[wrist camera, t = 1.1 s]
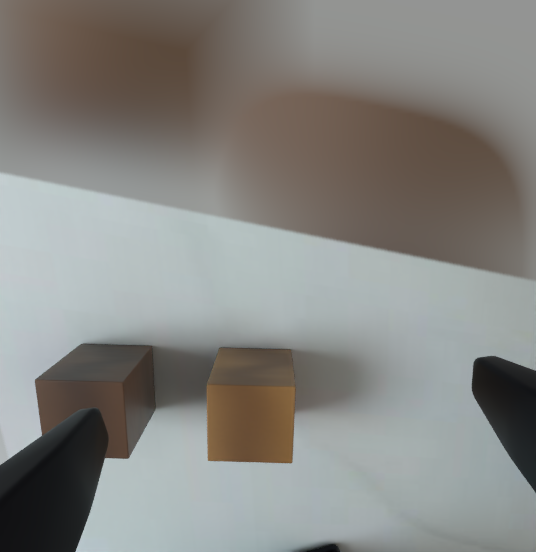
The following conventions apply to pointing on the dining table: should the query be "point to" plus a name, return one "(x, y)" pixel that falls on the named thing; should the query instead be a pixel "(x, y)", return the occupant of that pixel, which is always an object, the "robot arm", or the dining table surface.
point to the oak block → (251, 406)
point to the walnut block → (101, 391)
